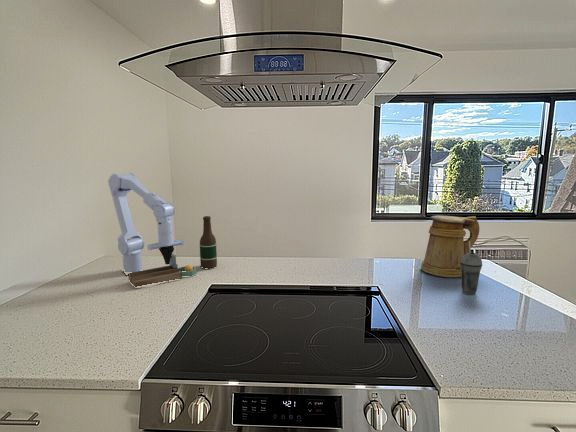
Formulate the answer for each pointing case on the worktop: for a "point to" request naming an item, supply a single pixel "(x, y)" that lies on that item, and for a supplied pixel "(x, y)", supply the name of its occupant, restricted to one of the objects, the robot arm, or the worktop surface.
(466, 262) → the beverage cup
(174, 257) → the gray l-shaped bracket
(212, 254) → the beer bottle
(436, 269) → the tankard
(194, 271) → the teal shallow dish
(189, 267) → the ball
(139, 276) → the brown wooden moulding block
